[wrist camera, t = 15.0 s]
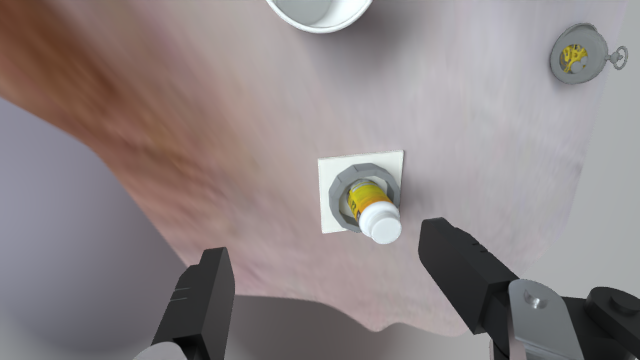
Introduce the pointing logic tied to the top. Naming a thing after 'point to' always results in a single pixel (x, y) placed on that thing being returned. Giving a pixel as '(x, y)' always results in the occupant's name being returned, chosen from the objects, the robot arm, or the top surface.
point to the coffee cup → (319, 13)
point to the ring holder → (348, 170)
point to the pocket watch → (582, 54)
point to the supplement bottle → (374, 211)
